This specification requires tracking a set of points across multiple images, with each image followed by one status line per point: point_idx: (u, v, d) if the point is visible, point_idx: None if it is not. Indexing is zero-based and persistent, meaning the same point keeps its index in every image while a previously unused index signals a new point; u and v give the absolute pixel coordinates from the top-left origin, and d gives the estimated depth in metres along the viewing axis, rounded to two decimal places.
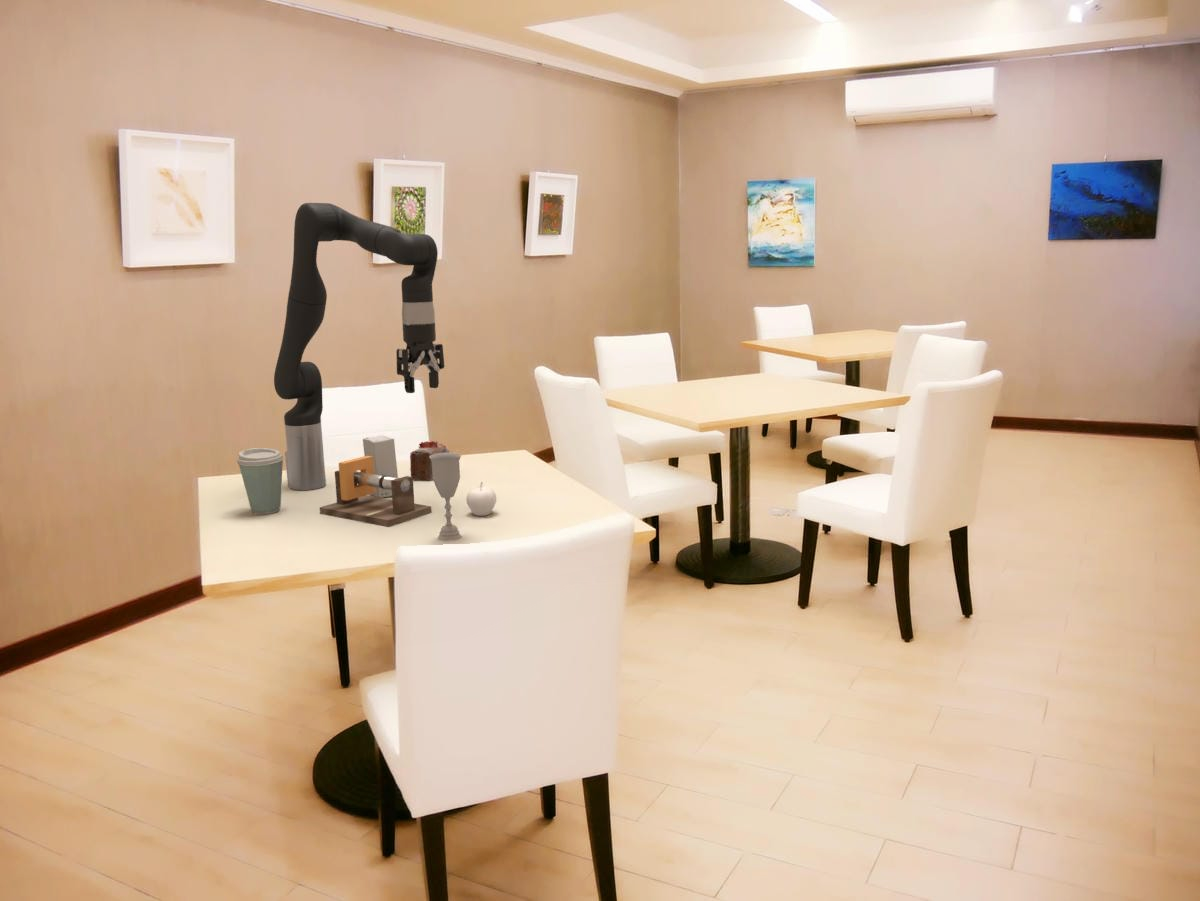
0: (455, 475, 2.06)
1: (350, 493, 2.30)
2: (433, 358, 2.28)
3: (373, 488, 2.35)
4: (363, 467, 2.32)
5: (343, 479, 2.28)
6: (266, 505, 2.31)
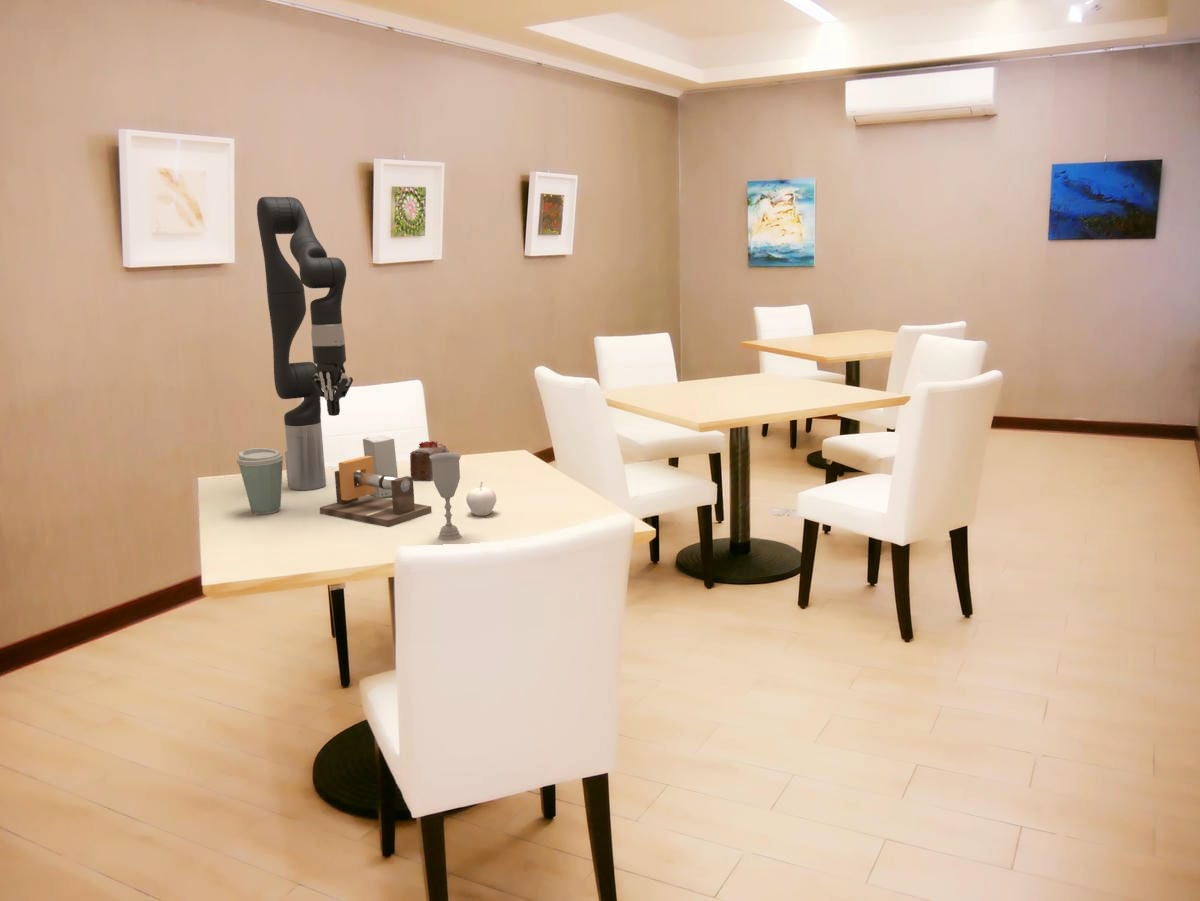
0: (455, 475, 2.06)
1: (350, 493, 2.30)
2: None
3: (373, 488, 2.35)
4: (363, 467, 2.32)
5: (343, 479, 2.28)
6: (266, 505, 2.31)
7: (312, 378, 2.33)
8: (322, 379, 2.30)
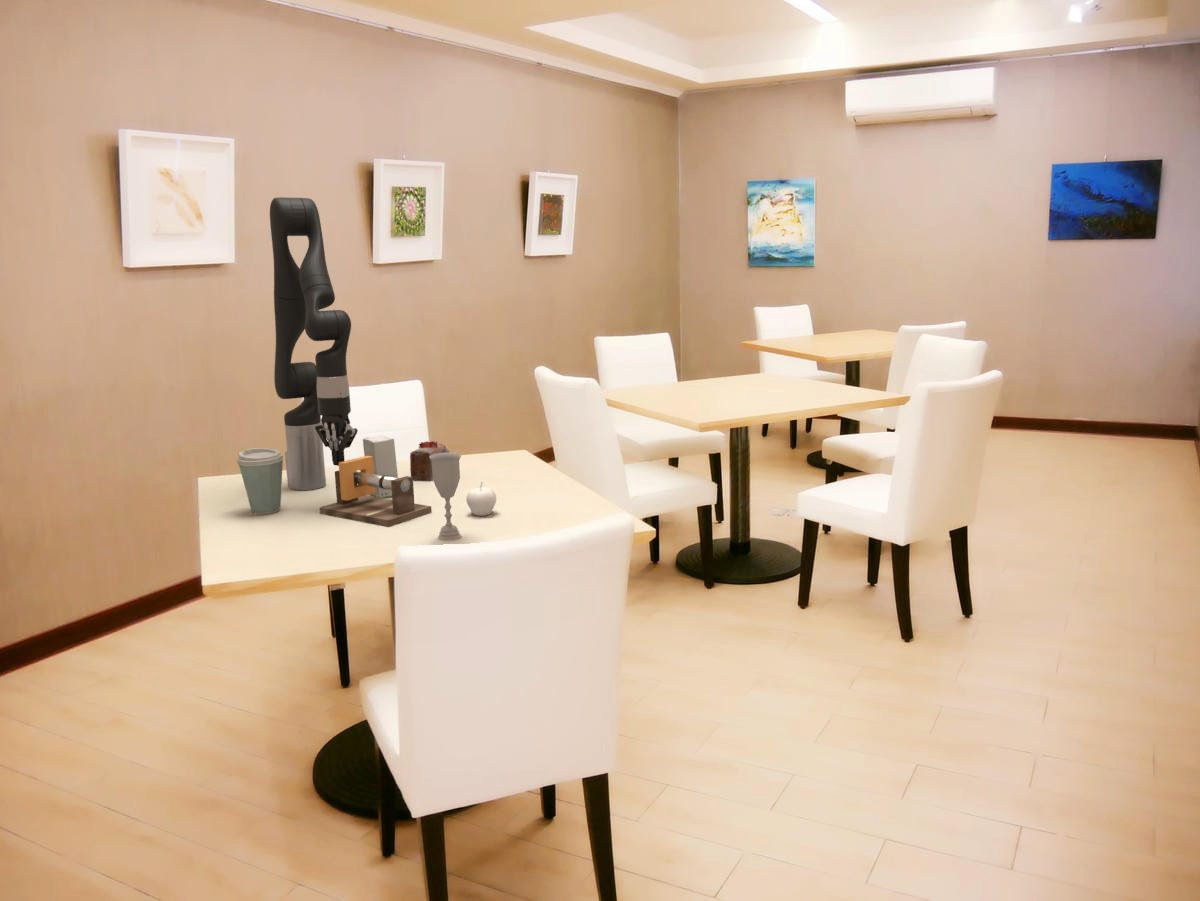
0: (455, 475, 2.06)
1: (350, 493, 2.30)
2: None
3: (373, 488, 2.35)
4: (363, 467, 2.32)
5: (343, 479, 2.28)
6: (266, 505, 2.31)
7: (317, 428, 2.35)
8: (327, 430, 2.32)
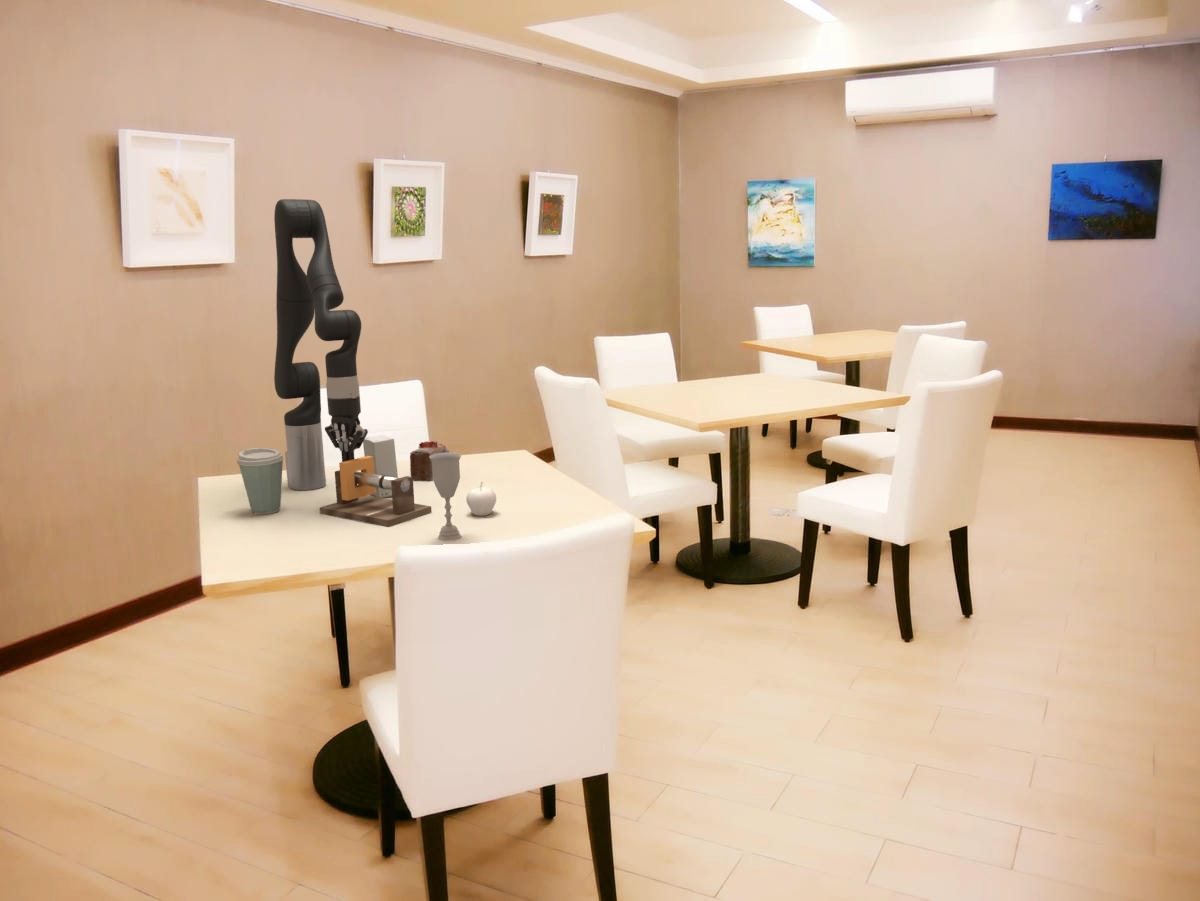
0: (455, 475, 2.06)
1: (351, 493, 2.29)
2: None
3: (374, 488, 2.35)
4: (364, 467, 2.32)
5: (344, 479, 2.28)
6: (266, 505, 2.31)
7: (327, 429, 2.33)
8: (337, 430, 2.30)
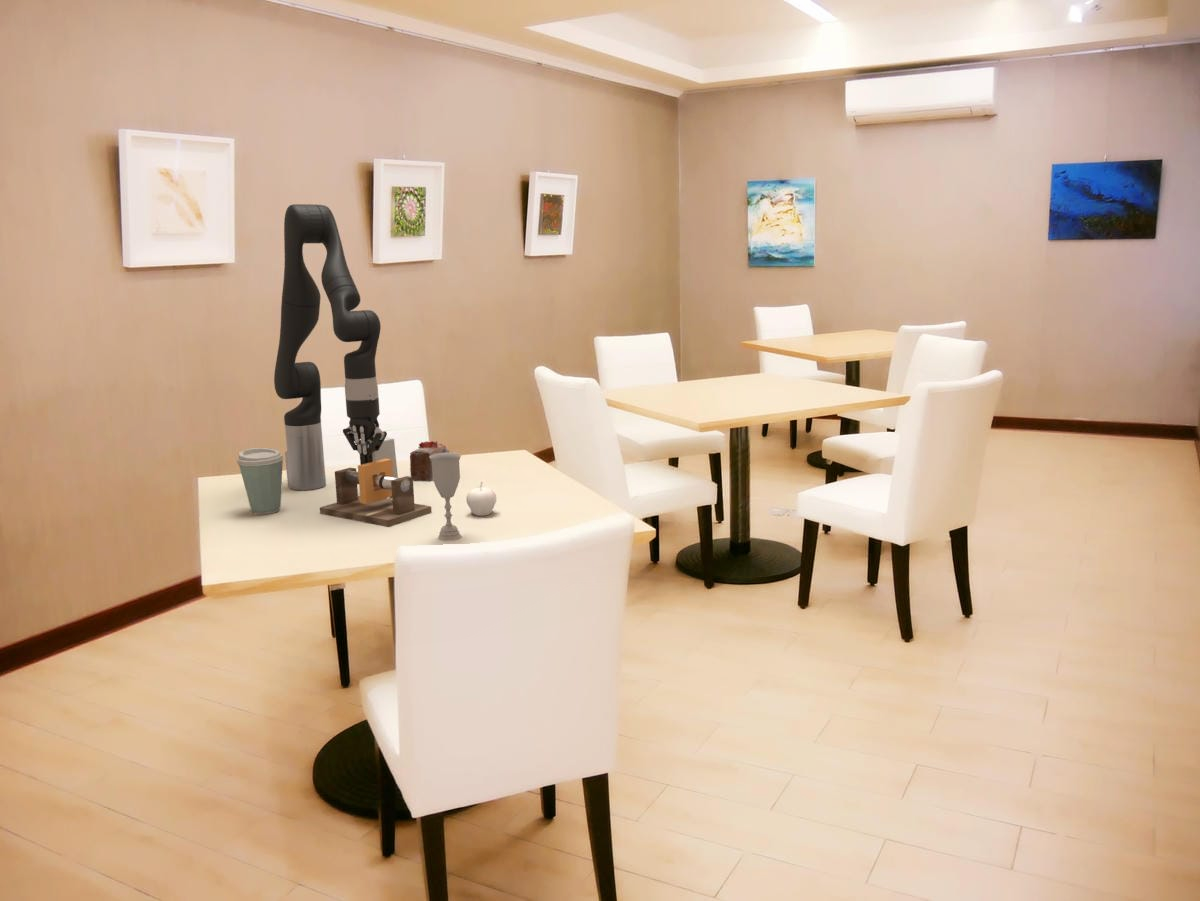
0: (455, 475, 2.06)
1: (370, 496, 2.26)
2: None
3: None
4: (382, 470, 2.29)
5: (362, 482, 2.25)
6: (266, 505, 2.31)
7: (345, 431, 2.30)
8: (355, 433, 2.27)
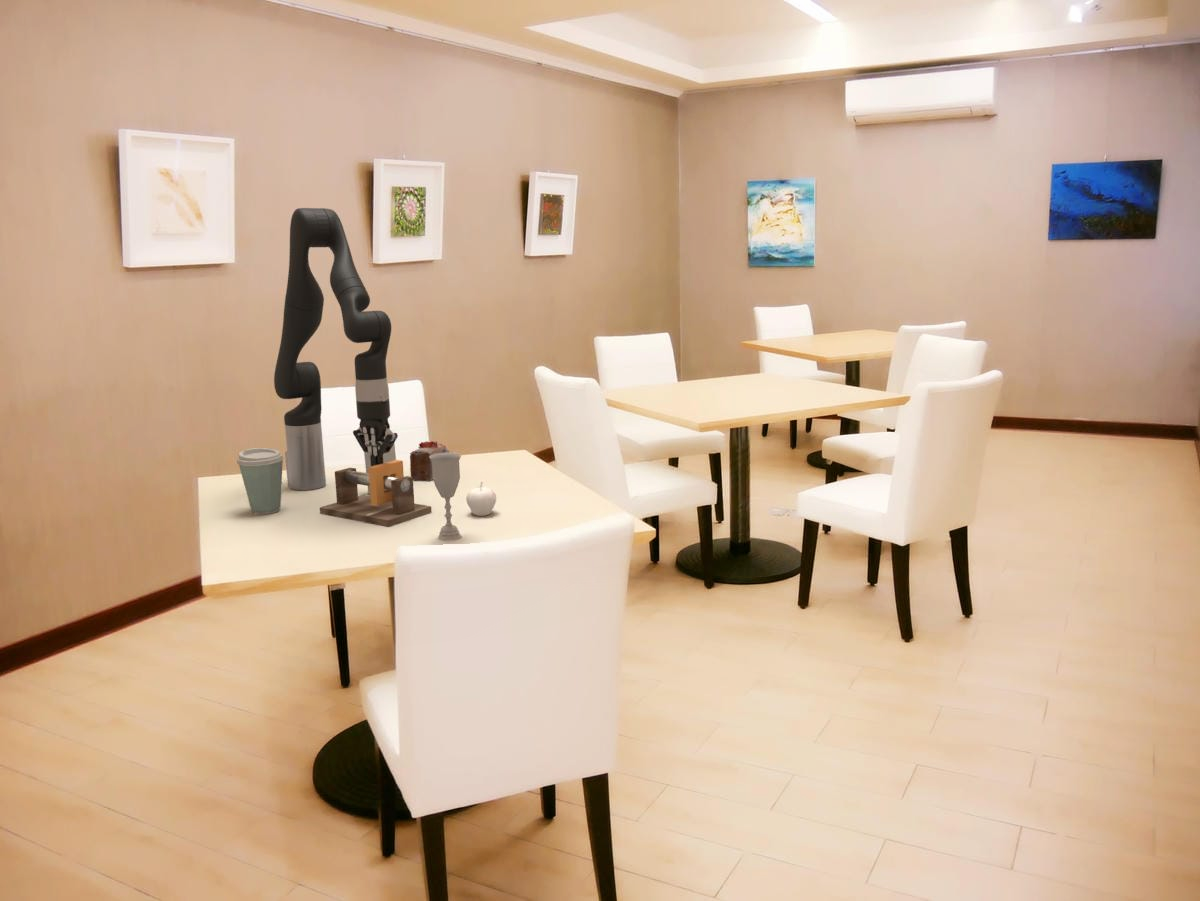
0: (455, 475, 2.06)
1: (380, 498, 2.24)
2: None
3: None
4: (393, 472, 2.27)
5: (373, 484, 2.23)
6: (266, 505, 2.31)
7: (355, 432, 2.28)
8: (366, 434, 2.25)
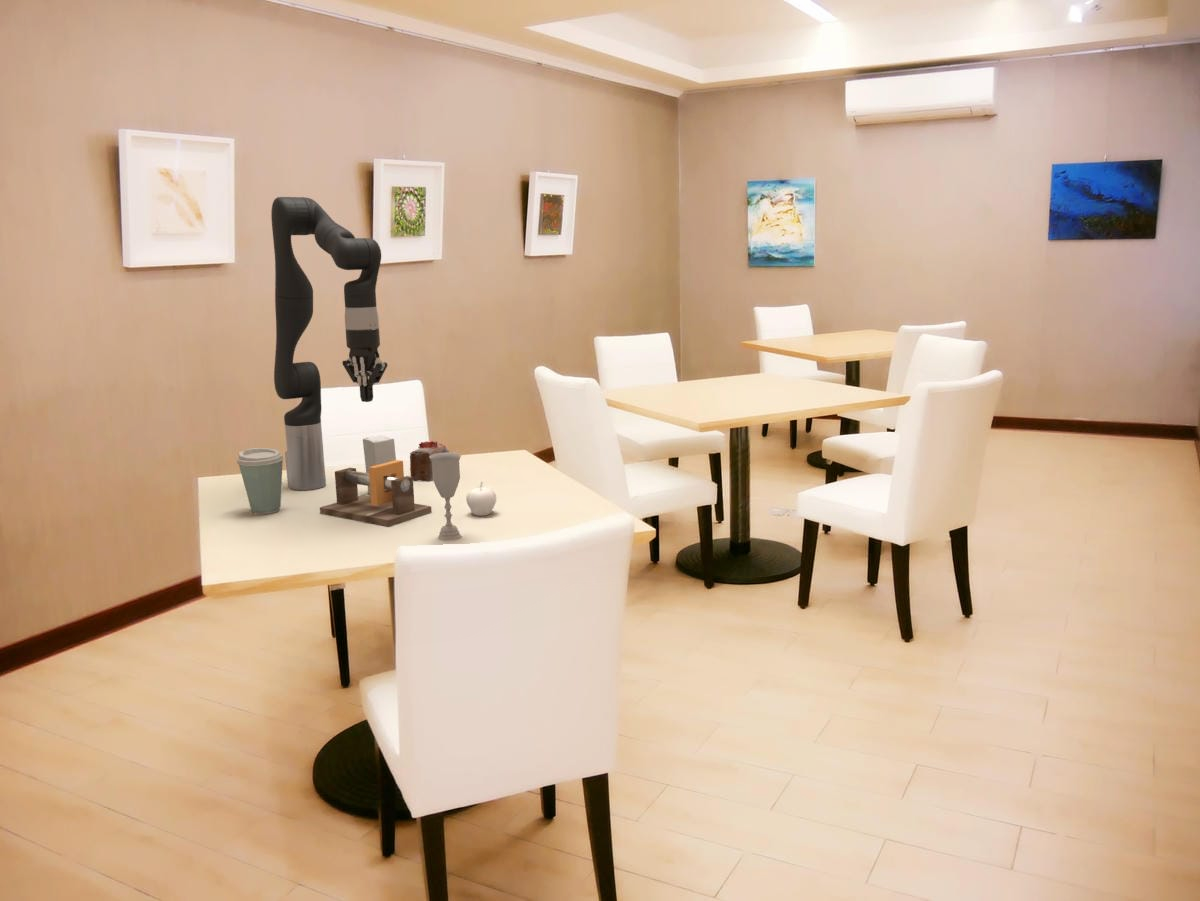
0: (455, 475, 2.06)
1: (381, 498, 2.24)
2: None
3: None
4: (393, 472, 2.27)
5: (373, 484, 2.23)
6: (266, 505, 2.31)
7: (344, 363, 2.26)
8: (355, 364, 2.23)
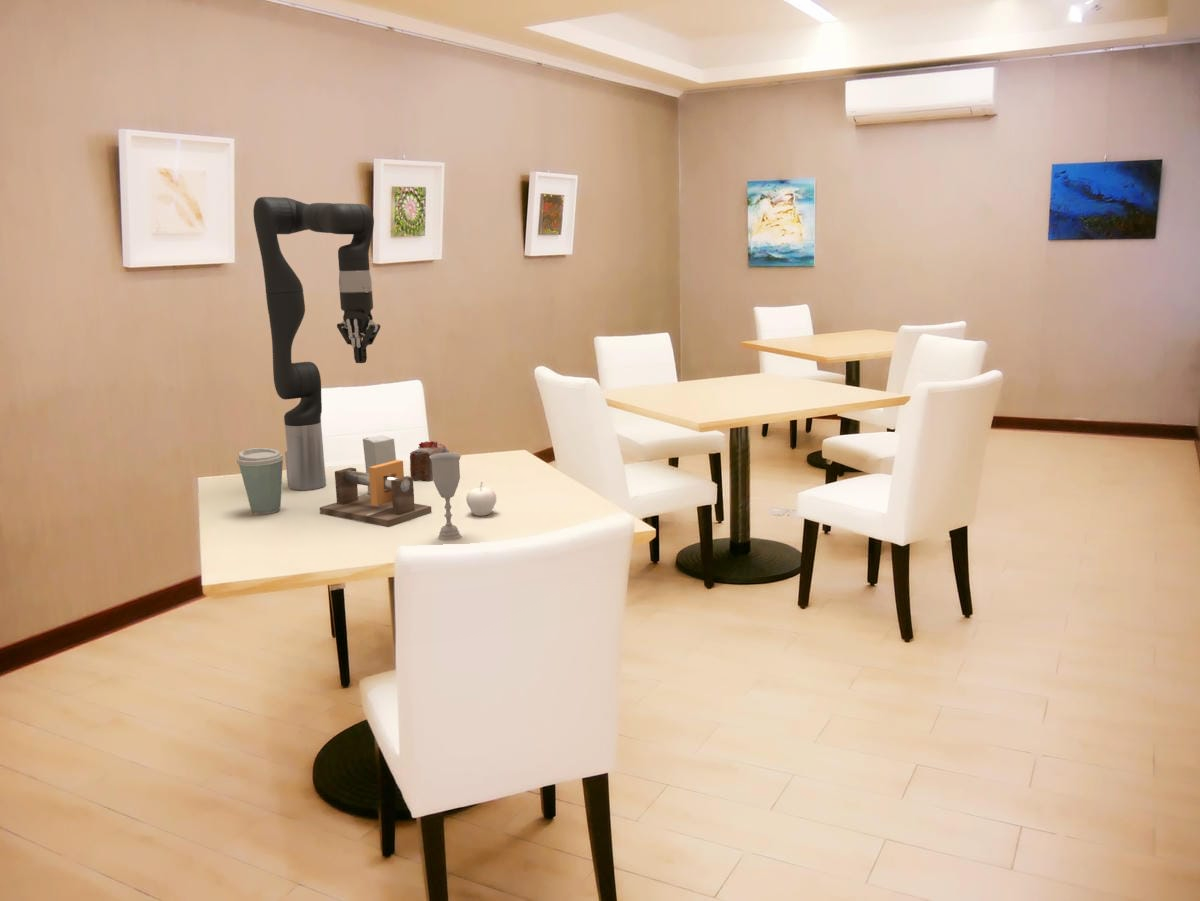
0: (455, 475, 2.06)
1: (381, 498, 2.24)
2: None
3: None
4: (393, 472, 2.27)
5: (373, 484, 2.23)
6: (266, 505, 2.31)
7: (339, 326, 2.33)
8: (349, 326, 2.30)
